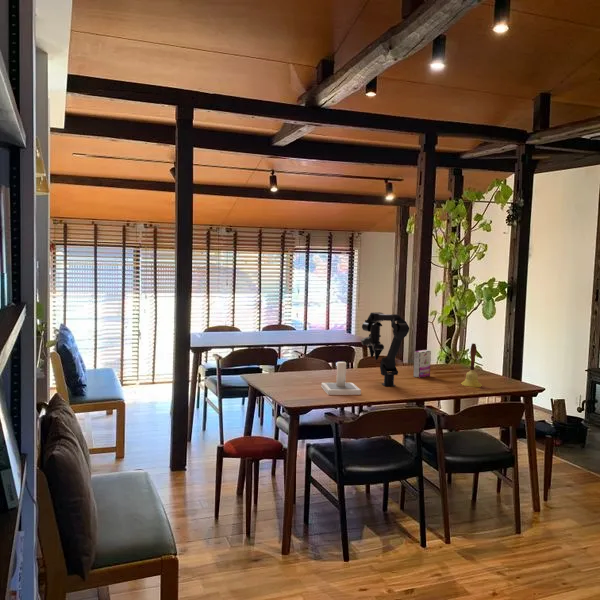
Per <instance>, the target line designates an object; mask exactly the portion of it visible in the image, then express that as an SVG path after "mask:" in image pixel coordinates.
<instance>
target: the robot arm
mask: <svg viewBox="0 0 600 600" xmlns="http://www.w3.org/2000/svg"><path fill="white" fill-rule="evenodd" d="M384 321H389V322H390V323H391V328H392V334H393V339H392V341H391V343H390V347H389V350H388V351H387V352H388V353H387V354H386V356H385V357H382V358H381V361H380V363H379V370H380V375H382V376H383V382H382V383H381V385H382V386H384V387H397V386H396V384H394V383H395V376H398V374H399V371H398V369H397V367H396V365H397V363H396V357H397V355H398V352H399V349H400V346H401V345H402V341H403V339H404V338H405V337H407V335H408V334H409V331H410V326H409V324H408V322H407V321H406V320H404V319H403V318H402V317H401V316H400V314H397V313H395V314H394V313H392V314H391V313H389V314H388V313H387V314H385V313H383V312H370V314H369V315H368V317H367V319H364V322H362V325H361V329H362V331H365V332H368V333H369V334H368V336H367V337H364V338H361V339H360V342H361V345H363V346H366V348H368V350H369V354H370V355H369V356H370V358H373V357H374V360H375V361H378V359H379V357H380V355H381V354H382V351H383V350H385V345H384V344H383V343H381V340H380V338H381V337H382V335H381V327H383V324H382V323H381V322H384ZM396 322H397V323H396Z"/></svg>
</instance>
